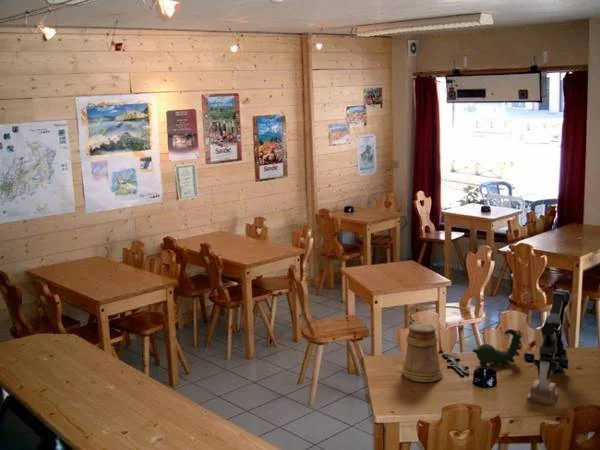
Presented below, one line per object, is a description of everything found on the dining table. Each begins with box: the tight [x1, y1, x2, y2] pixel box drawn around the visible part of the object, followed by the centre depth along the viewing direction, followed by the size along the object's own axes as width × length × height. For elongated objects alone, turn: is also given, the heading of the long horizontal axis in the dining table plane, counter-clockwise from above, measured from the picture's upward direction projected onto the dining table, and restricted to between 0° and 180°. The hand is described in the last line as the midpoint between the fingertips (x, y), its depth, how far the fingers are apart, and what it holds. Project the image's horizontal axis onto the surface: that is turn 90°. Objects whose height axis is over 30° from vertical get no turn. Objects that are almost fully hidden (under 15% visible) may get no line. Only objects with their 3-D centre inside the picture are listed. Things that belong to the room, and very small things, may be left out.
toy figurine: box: [472, 328, 522, 368], centre depth 352 cm, size 9×19×25 cm
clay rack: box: [526, 379, 559, 406], centre depth 316 cm, size 12×11×6 cm
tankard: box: [402, 317, 443, 383], centre depth 342 cm, size 18×24×25 cm
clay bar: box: [538, 361, 549, 391], centre depth 315 cm, size 4×3×13 cm, turn 152°
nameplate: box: [441, 353, 470, 378], centre depth 353 cm, size 27×2×10 cm
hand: (543, 378), depth 314 cm, fingers closed on clay bar, 3 cm apart
